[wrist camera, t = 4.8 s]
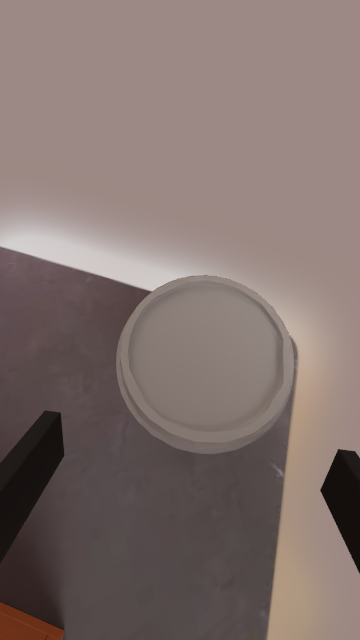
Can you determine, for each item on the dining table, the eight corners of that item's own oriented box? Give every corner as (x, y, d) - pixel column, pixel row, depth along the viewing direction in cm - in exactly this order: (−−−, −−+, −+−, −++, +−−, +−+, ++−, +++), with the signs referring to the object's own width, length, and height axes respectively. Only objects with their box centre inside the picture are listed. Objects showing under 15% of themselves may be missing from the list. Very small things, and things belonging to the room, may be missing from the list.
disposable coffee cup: (201, 470, 20) (233, 514, 9) (119, 394, 23) (68, 358, 12) (261, 380, 23) (337, 335, 13) (184, 322, 26) (191, 241, 15)
